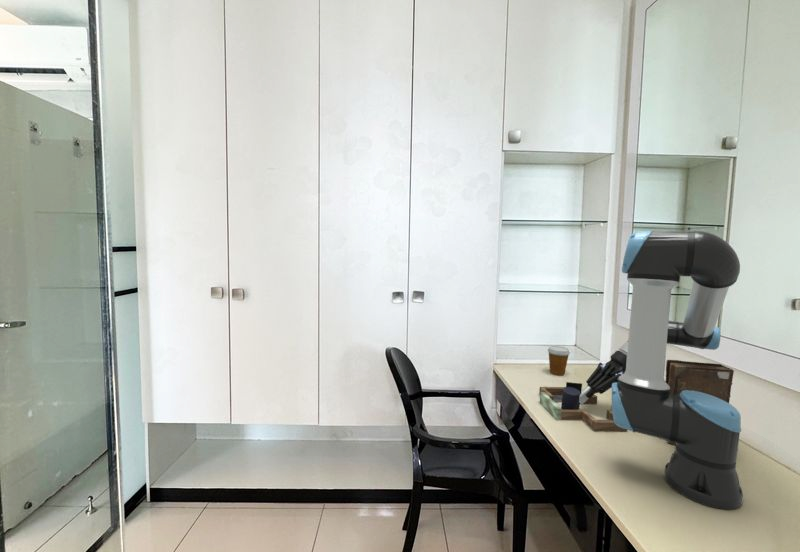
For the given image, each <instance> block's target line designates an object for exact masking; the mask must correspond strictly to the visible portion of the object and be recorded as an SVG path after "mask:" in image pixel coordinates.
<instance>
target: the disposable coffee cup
mask: <svg viewBox="0 0 800 552" xmlns="http://www.w3.org/2000/svg"><path fill="white" fill-rule="evenodd" d="M547 352H548V363H549V373H550V374H551V375H553V376H557V377H559V376H560V377H562V376H565V375H564V374H565V373H566V369H567V364H568V359H569V355H570V354H571V353H570V349H569V348H567V347H564V346H559V345H552V346H548V349H547Z"/></svg>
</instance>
